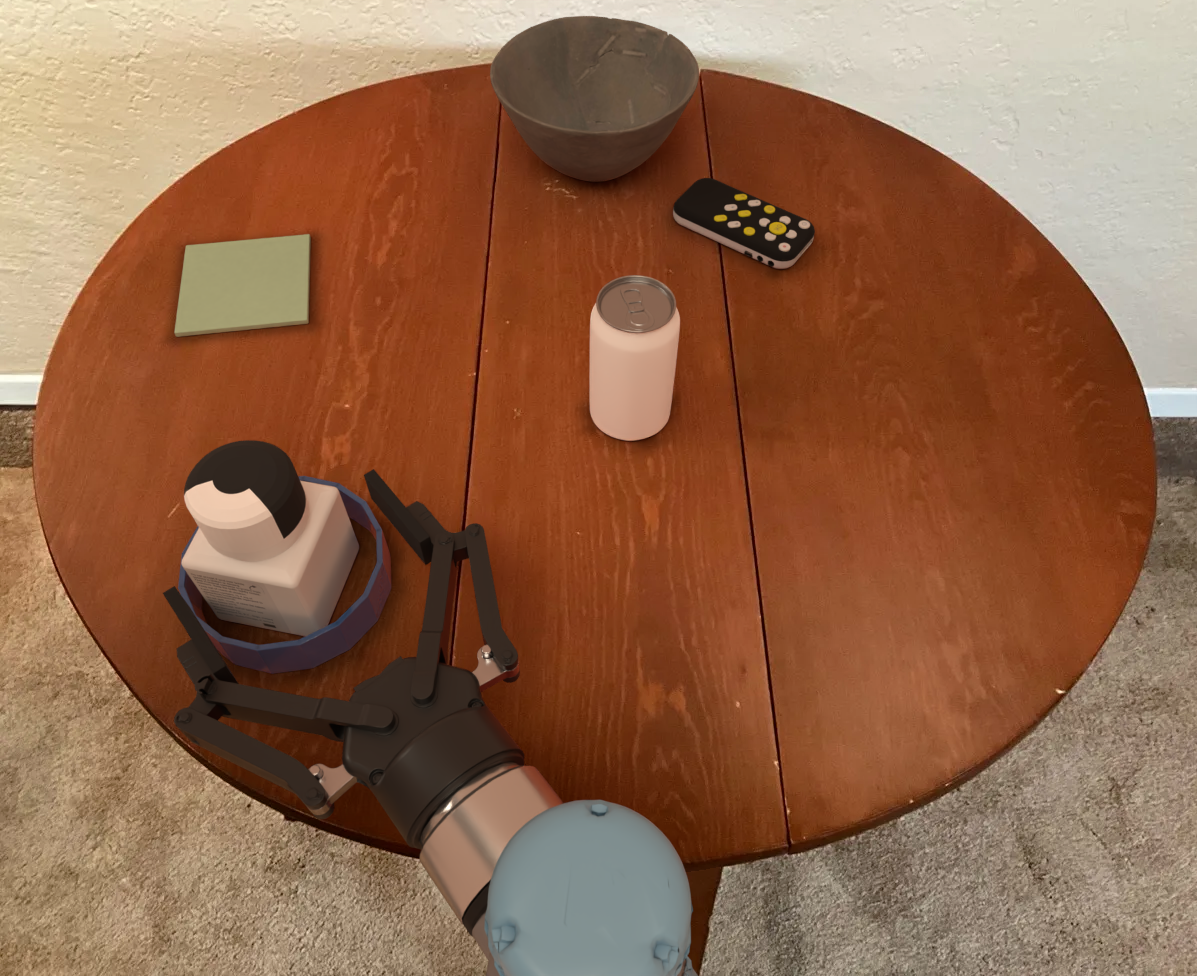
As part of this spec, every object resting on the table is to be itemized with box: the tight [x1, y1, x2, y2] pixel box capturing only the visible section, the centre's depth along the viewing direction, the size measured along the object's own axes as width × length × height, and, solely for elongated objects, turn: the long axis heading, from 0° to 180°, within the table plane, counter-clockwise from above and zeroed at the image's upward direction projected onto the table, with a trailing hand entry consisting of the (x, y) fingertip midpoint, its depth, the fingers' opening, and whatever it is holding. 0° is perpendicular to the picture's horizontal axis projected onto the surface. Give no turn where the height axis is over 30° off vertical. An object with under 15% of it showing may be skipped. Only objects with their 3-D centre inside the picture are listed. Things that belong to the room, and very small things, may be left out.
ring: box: [177, 475, 393, 675], centre depth 67 cm, size 13×13×4 cm
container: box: [180, 439, 360, 637], centre depth 63 cm, size 8×8×13 cm
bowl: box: [489, 15, 700, 183], centre depth 91 cm, size 19×19×10 cm
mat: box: [174, 233, 312, 338], centre depth 85 cm, size 11×11×1 cm
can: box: [589, 274, 681, 442], centre depth 72 cm, size 6×6×12 cm
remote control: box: [672, 177, 816, 270], centre depth 89 cm, size 6×13×2 cm, turn 55°
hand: (278, 539), depth 60 cm, fingers open, 13 cm apart
